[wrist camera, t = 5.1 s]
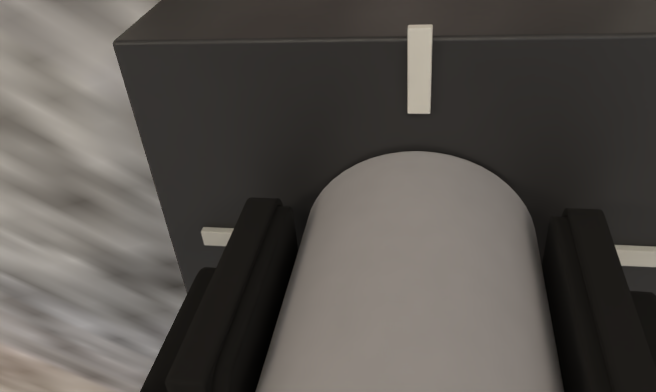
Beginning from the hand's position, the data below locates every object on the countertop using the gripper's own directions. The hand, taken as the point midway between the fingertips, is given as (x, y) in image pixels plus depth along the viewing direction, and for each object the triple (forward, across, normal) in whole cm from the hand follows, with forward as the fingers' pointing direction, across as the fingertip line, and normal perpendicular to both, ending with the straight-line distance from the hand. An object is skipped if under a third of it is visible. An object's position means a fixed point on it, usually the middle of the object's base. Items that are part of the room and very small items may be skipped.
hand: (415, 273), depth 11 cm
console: (+3, 0, 0) cm, 3 cm away
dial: (+1, 0, 0) cm, 1 cm away
